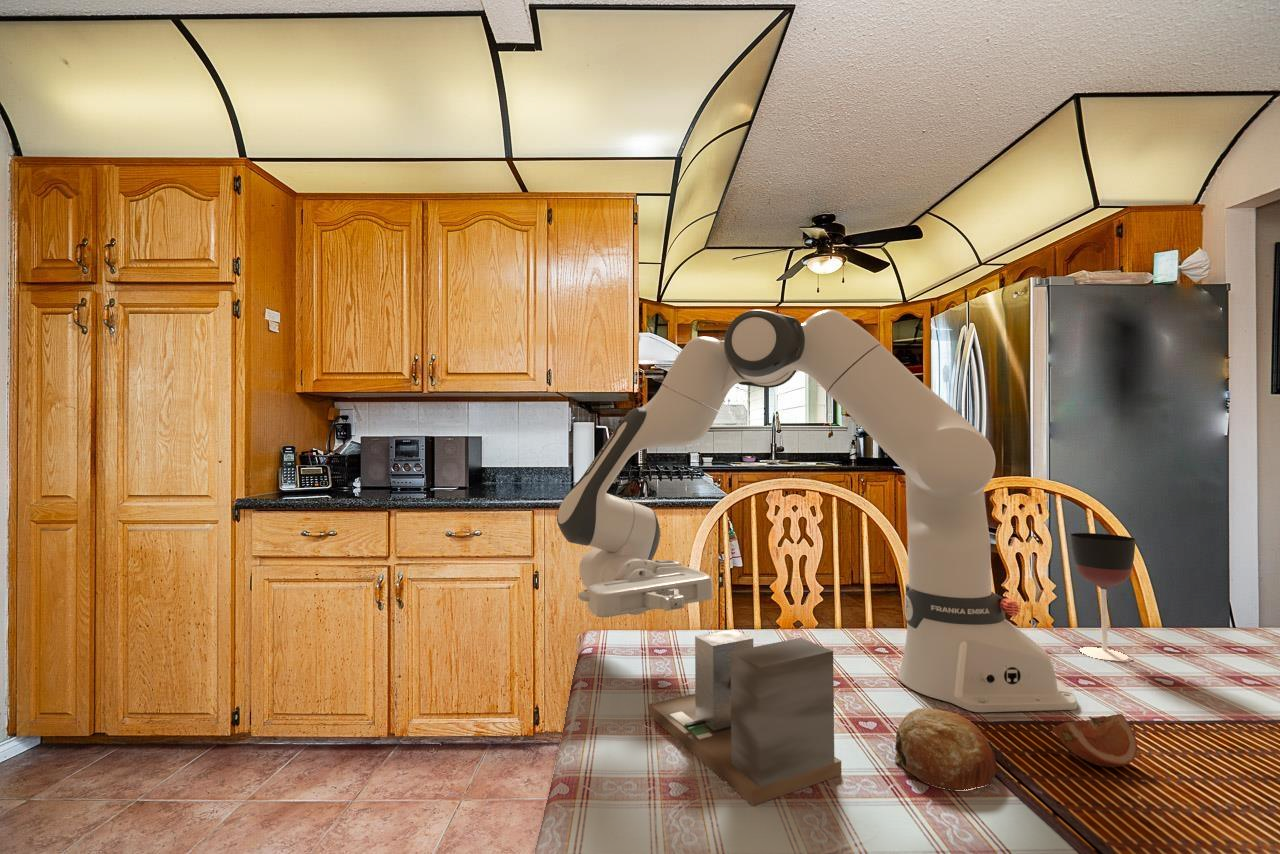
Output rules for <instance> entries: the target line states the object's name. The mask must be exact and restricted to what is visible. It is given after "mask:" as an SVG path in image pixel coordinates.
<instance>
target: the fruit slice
mask: <svg viewBox="0 0 1280 854" xmlns="http://www.w3.org/2000/svg"><path fill="white" fill-rule="evenodd" d="M1088 718H1089V719H1087V720H1085V719H1082V720H1071V721H1065V722H1063V723H1059V724H1058V725H1056V726H1053V727H1052V731H1053V733H1054V734H1055V735H1056V737H1057V738H1058V739H1059V740H1060V742H1062V743H1063V745H1064V746H1065V747H1066V748H1067V749H1068V750H1069V751H1071V752H1072V753H1073V754H1074V755H1076V756H1077V757H1079V758H1080V759H1081V760H1082V759H1083V760H1084V761H1087V762H1088V761H1089V762H1088V763H1091V764H1093V763H1094V764H1093V765H1096V764H1097V765H1096V766H1100V765H1101V766H1100V767H1104V766H1105V767H1106V768H1118V767H1123V766H1126V765H1129V764H1130V763H1132V762H1133V761H1134V760H1135V759H1136V757H1137V754H1138V740H1137V738H1136V735H1135V733H1134V729H1132V726H1131V725H1130V723H1129V721H1128V720H1127V719H1126V717H1125V715H1124V714H1122V713H1120V714H1118V713H1117V714H1111V715H1109V716H1105V715H1102V716H1098V717H1095V716H1093V717H1092V716H1089V717H1088Z"/></svg>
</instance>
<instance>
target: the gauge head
mask: <svg viewBox="0 0 1280 854" xmlns="http://www.w3.org/2000/svg"><path fill="white" fill-rule="evenodd" d="M694 638H695V639H694V649H695V651H694V652H695V653H694V656H695V657H694V659H695V660H694V663H695V665H694V666H695V667H694V668H695V669H694V672H695V673H694V674H695V675H694V679H695V680H694V683H695V684H694V685H695V693H694V694H695V709H696V718H698V719H699V720H697V721H694V722H690V723H686V724H685V727H687V728H689V727H693V726H697V725H701V724H706V725H707V726H708V727H709V728H711V729H712V730H713V731H714V730H718V729H722V728H726V727H729V726H731V651H736V650H741V649H746V648H751V647H754V638H753V637H751V636H749V635H747V634H745V633H743V632H741V631H738V630H737V629H734V628H733V629H728V630H722V631H718V632H717V631H716V632H711V633H705V634H699V635H695V636H694Z"/></svg>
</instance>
